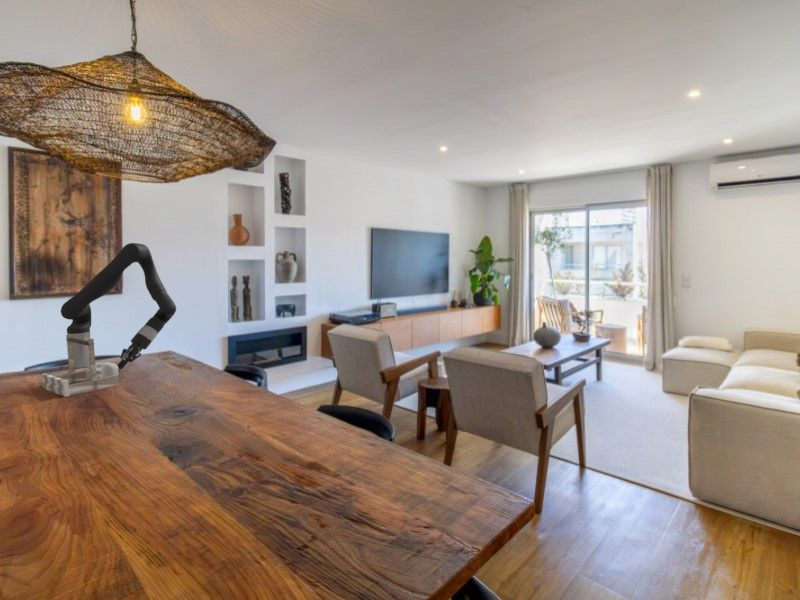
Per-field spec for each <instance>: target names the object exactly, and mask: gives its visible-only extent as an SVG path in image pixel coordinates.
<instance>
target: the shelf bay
mask: <svg viewBox="0 0 800 600" xmlns="http://www.w3.org/2000/svg"><path fill="white" fill-rule="evenodd" d="M65 337H66V349H67V361H68V373H65V374H61V375H56V376H55V375H52V374H49V373H41V384H42V389H44V390H46V391H48V392H51V393H53V394H57V395H60V396H61V397H62V396H63V398H65V397H66V398H67V397H69V396H73V395H74V396H75V395H78V394H83V393H87V392H91V391H95V390H101V389H104V388H109V387H113V386H119V385H120V380H119V375H113V376H108V377H103V378H99V379H97V378H96V365H95V363H96V357H95V356H96V355H95V354H96V353H95V342H94V341H95V340H94V338H91V339H88V341H86V340H81V339H76V338H72V335H71V334H69V335H67V334H66V336H65ZM72 342H74V343H78V344H83V345H87V346H88V351H89V363H90V376H91V380H87V378H86V371H87V370H88V369H87V370H82V371H76V368H75V367H74V355H73V343H72ZM75 371H76V372H75Z"/></svg>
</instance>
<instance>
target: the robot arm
mask: <svg viewBox="0 0 800 600" xmlns="http://www.w3.org/2000/svg"><path fill="white" fill-rule="evenodd" d="M135 263H138V264H139V266H140V268H141V269H142V271H143V275H144V280H145V281H144V282H145V287H146V289H147V291H148V293H149V295H150V297H151V298H152V300H153V301H155V302H156V304H157V306H158V310H157V311H156V312H155V313H154V314H153V316H151V317H150V318H149V319H148V320H147V322H145V324H144V325H143V326H142V327H141V328H140V329H139V330H138V331H137V332H136V333H135V335H134V336H133V337H132V338H131V339H130V343H131V344H130V345H129V346H128V347H127V348H123V349H122V352H121V354H120V361H119V362H118V364H116V365H117V366H118V368H119V370H123V369H124V368H125V367H126V365H127V364H128V363H132V362H134V361H135V360H137V359H138V358H140V357H141V356H142V353H141V352H142V350H144V351H145V350H146V349H148V347H150V345H151V343H153V341H154V340H155V339H156V337H158V334H159V333H160V332H161V330H162V329H164V327H165V325H166V324H167V323H168V322H169V321H170V320H171V319H172V317H173V316H175V314H176V311H177V306H176V304H175V301H174V300H173V299H172V297H171V296H170V295H169V293H168V291H167V289H166V287H165V286H164V283H163V282H162V280H161V278H160V276H159V273H158V271H157V268H156V265H155V263H154V260H153V256H152V254H151V251H150V249H149V247H148V246H147V245H146V244H144V243H135V242H130V243H127V244H125V245H124V246H123V247H122V249H120V251H118V253H117V254H116V255H115V257H114V258H113V259H112V260H111V261H109V263H107V265H106V266H104V267H103V269H101V270H100V271H99V272H98V273H97V274H96V275H95V276H94V277H93V278H92V279H91V280H90V281H89V282H87V284H85V286H83V287H82V289H80V290H79V291H78V292H77V293H76V294H74V296H72V297H70V298H69V299H67V301H65V302H64V303H63V304H62V306H61V308H60V315H61V316H62V317H63V318H64V319H66V320H69V321H70V320H71V321H72V322H71V323H70V324H69V325H68V326H67V327H66V335H69V334H71V335H72V338H76V339H81V340H86V341H88V339H92V338H91V327H92V308H91V305H90V304H91V303H92V302H94V301H97V300H98V299H100V298H102V297H104V296H106V294H108V293H110V291H112V290H113V289H114V288H116V286H117V285H118V284H119V282H120V281H121V278H122V275H123V273H124V271H126V269H127V268H128V267H130V266H131V265H132V264H135ZM72 343H73V355H74V367H75V369H81V368H83V369H84V368H87V367H89V366H90V363H89V351H88V346H87V345H83V344H78V343H74V342H72Z"/></svg>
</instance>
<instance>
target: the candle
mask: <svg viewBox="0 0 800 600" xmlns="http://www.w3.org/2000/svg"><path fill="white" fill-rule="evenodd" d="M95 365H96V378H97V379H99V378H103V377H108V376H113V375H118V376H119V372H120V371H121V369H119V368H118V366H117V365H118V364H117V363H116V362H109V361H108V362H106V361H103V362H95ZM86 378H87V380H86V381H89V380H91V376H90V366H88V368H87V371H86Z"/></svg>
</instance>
